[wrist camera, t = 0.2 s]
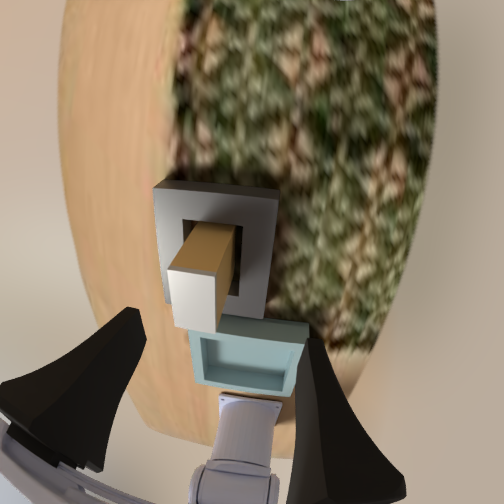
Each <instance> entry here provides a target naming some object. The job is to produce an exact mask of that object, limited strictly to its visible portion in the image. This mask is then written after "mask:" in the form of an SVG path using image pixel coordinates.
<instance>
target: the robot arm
mask: <svg viewBox="0 0 504 504" xmlns="http://www.w3.org/2000/svg"><path fill="white" fill-rule="evenodd" d="M146 341H147V338H146V335H145V331H144V327H143V323H142V319H141V315H140V311H139V309H136V308H132V307H126V308H125V309H123V310H122V311H121V312H120V313H119V314H117V315H116V316H115V317H114V318H112V319H111V320H110V321H109V322H108V323H106V324H105V325H104V326H103V327H102V328H100V329H99V330H98V331H97V332H95V333H94V334H93V335H92V336H91V337H89V338H88V339H87V340H85V341H84V342H83V343H81V344H80V345H79V346H77V347H76V348H74V349H73V350H72V351H70V352H69V353H67V354H65V355H64V356H62V357H61V358H59V359H57V360H56V361H54V362H52V363H50V364H48V365H46V366H44V367H42V368H40V369H38V370H36V371H34V372H32V373H29V374H26V375H24V376H21V377H18V378H15V379H12V380H8V381H5V382H2V383H1V385H0V412H1V413H3V414H4V416H6V417H7V418H8V419H9V420H10V421H11V424H10V425H8V424H7V423H6V422H5V421H4V420H2V419H1V418H0V473H1V474H2V475H3V476H4V477H5V478H6V479H7V480H8V481H9V482H10V483H11V484H12V485H13V486H14V487H15V488H16V489H17V490H18V491H19V492H20V493H21V494H22V495H23V496H25V498H27V499H28V500H29V501H30V502H31V503H32V504H109V503H107V502H105V501H102V500H100V499H98V498H96V497H93V496H91V495H89V494H86V492H85V490H84V488H86V489H87V490H89V491H92V492H94V493H95V494H98V495H100V496H102V497H104V498H106V499H109V500H111V501H113V502H115V503H118V504H154V503H151V502H148V501H146V500H143V499H140V498H137V497H134V496H132V495H129V494H126V493H124V492H122V491H119V490H117V489H114V488H112V487H109V486H107V485H105V484H103V483H101V482H99V481H97V480H94V479H92V478H90V477H88V476H86V475H84V474H82V473H81V472H79V471H77V470H76V467H79V468H81V469H84V468H85V467H86V468H88V469H90V470H92V471H94V472H96V473H99V472H101V471H103V468H104V461H105V455H106V449H107V444H108V440H109V435H110V431H111V428H112V424H113V420H114V417H115V414H116V411H117V408H118V405H119V402H120V400H121V397H122V395H123V393H124V391H125V389H126V387H127V385H128V383H129V381H130V379H131V377H132V375H133V373H134V371H135V369H136V367H137V365H138V362H139V360H140V358H141V355H142V353H143V350H144V347H145V344H146ZM295 405H296V440H295V450H294V458H293V466H292V473H291V479H290V485H289V491H288V496H287V501H286V504H391V503H393V502H397V501H399V500H402V499H404V498H405V497H406V484H405V480H404V476H403V475H402V474H401V473H400V472H399V471H398V470H397V469H396V468H395V467H394V466H393V465H392V464H391V463H390V461H389V460H388V459H387V458H386V457H385V456H384V455H383V454H382V452H381V451H380V450H379V449H378V447H377V446H376V445H375V444H374V442H373V441H372V439H371V438H370V437H369V435H368V434H367V433H366V431H365V430H364V428H363V427H362V425H361V424H360V422H359V420H358V419H357V417H356V415H355V414H354V412H353V410H352V408H351V407H350V405H349V403H348V401H347V399H346V397H345V395H344V393H343V391H342V389H341V387H340V384H339V382H338V380H337V377H336V375H335V373H334V370H333V368H332V365H331V363H330V360H329V357H328V355H327V352H326V349H325V346H324V342H323V340H322V339H315V338H307V339H306V342H305V345H304V348H303V351H302V354H301V357H300V359H299V362H298V365H297V373H296V384H295ZM281 408H282V402H279V401H269V400H261V399H254V398H247V397H240V396H234V395H228V394H219V414H220V420H219V425H218V429H217V433H216V438H215V442H214V447H213V451H212V456H211V460H207V463H206V465H204V464H202V465H200V466H199V467H197V468H196V469H195V471H194V473H193V475H192V479H191V482H190V486H189V502H188V504H277V503H278V496H279V484H280V480H279V478H278V477H277V476H276V474H271V476H270V471H271V468H270V459H271V451H272V442H273V433H274V426H275V423H276V421H277V418H278V416H279V413H280V411H281ZM83 487H84V488H83Z"/></svg>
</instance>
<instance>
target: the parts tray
mask: <svg viewBox="0 0 504 504" xmlns="http://www.w3.org/2000/svg"><path fill="white" fill-rule="evenodd" d="M188 334H189V342H190V349H191V356H192V363H193V370H194V376H195V383H199V384H204V385H209V386H214V387H220V388H225V389H231V390H237V391H244V392H251V393H258V394H266V395H275V396H284V397H290V396H291V393H292V391H293V388H294V386H295V383H296V373H297V365H298V362H299V359H300V357H301V354H302V351H303V348H304V345H305V342H306V339H307V338H309V323H304V322H295V321H287V320H278V319H271V318H263V319H257V318H250V317H243V316H236V315H230V314H223V313H222V315H221V318H220V321H219V325H218V328H217V331H216V334H211V333H206V332H200V331H195V330H190V329H188Z"/></svg>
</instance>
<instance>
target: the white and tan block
mask: <svg viewBox="0 0 504 504" xmlns="http://www.w3.org/2000/svg"><path fill="white" fill-rule="evenodd" d="M236 226H237V225H231V224H223V223H214V222H205V221H198V223H197V224H196V226H195V227H194V229H193V230H192V232H191V233H190V235H189V236H188V238H187V239H186V241H185V242H184V244H183V245H182V247H181V248H180V250H179V251H178V253H177V255H176V256H175V258H174V259H173V261H172V262H171V264H170V266H169V267H168V269H167V273H168V281H169V289H170V296H171V303H172V310H173V317H174V323H175V327H180V328H185V329H190V330H195V331H200V332H206V333H211V334H216V331H217V328H218V325H219V321H220V318H221V315H222V311H223V308H224V305H225V301H226V298H227V295H228V292H229V288H230V285H231V282H232V279H233V275H234V266H235V246H236Z"/></svg>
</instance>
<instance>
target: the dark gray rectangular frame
mask: <svg viewBox="0 0 504 504" xmlns="http://www.w3.org/2000/svg"><path fill="white" fill-rule="evenodd" d="M279 195H280V190H275V189H267V188H258V187H249V186H240V185H230V184H219V183H208V182H195V181H181V180H165V179H164V180H162V181H161V182H160V183H158V184H157V185H156V186H155V187H153V201H154V213H155V224H156V234H157V244H158V252H159V261H160V268H161V276H162V283H163V289H164V296H165V302H166V303H167V304H172V303H171V296H170V289H169V281H168V273H167V269H168V267H169V266H170V264H171V262H172V261H173V259H174V258H175V256H176V255H177V253H178V251H179V250H180V248H181V247H182V245H183V244H184V242H185V241H186V239H187V238H188V236H189V235H190V233H191V232H192V229H191V220H196V221H205V222H214V223H223V224H231V225H239V226H243V236H242V252H241V268H240V281H233V280H232V282H231V285H230V288H229V292H228V295H227V298H226V301H225V305H224V308H223V311H222V313H223V314H230V315H236V316H243V317H250V318H257V319H263V316H264V309H265V302H266V295H267V288H268V281H269V273H270V266H271V259H272V251H273V243H274V236H275V228H276V220H277V212H278V204H279Z"/></svg>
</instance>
